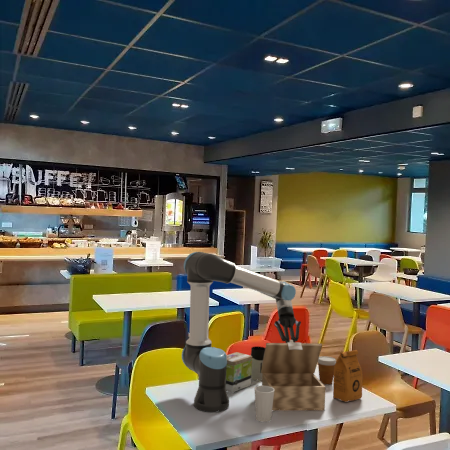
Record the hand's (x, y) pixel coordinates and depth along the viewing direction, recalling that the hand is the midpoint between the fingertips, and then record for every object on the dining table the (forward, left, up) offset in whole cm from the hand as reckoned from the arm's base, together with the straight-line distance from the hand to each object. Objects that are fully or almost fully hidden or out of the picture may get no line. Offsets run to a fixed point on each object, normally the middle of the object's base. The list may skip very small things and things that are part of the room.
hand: (292, 354), depth 213 cm
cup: (-17, -22, -20) cm, 34 cm away
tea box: (-24, +15, -20) cm, 35 cm away
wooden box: (-1, -5, -20) cm, 21 cm away
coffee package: (+26, -1, -20) cm, 33 cm away
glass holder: (-9, +26, -20) cm, 34 cm away
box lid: (-1, -3, -4) cm, 5 cm away
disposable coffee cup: (+23, +21, -20) cm, 38 cm away
